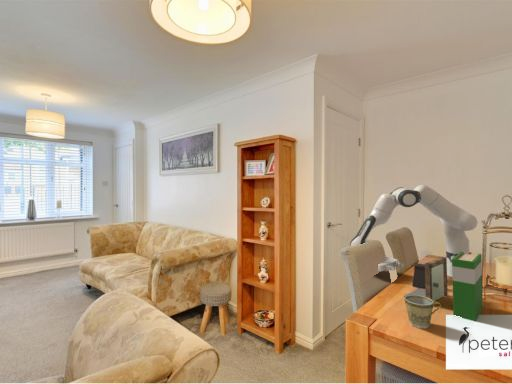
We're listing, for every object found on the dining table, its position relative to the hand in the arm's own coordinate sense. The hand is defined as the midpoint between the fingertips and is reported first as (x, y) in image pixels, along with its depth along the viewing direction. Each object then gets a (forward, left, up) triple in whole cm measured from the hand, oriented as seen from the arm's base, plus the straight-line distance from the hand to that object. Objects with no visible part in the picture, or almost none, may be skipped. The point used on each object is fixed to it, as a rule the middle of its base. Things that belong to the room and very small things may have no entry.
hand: (398, 267), depth 160 cm
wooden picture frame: (+14, +25, -8) cm, 30 cm away
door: (+14, +26, -7) cm, 30 cm away
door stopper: (0, +12, -8) cm, 15 cm away
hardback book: (+17, +39, -8) cm, 43 cm away
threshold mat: (+14, +19, -8) cm, 25 cm away
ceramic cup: (+44, +32, -8) cm, 55 cm away
